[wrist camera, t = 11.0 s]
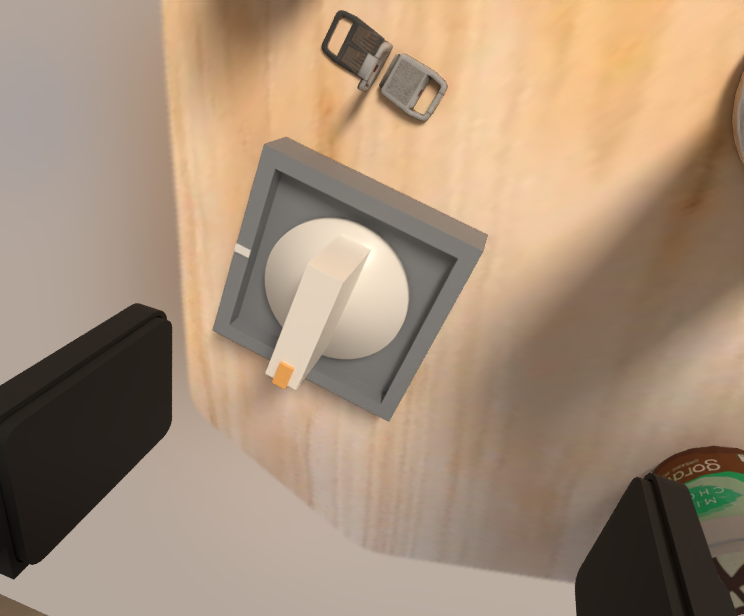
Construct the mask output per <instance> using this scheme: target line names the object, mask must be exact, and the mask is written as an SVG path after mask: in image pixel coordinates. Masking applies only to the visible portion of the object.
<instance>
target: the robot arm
mask: <svg viewBox="0 0 744 616" xmlns="http://www.w3.org/2000/svg"><path fill="white" fill-rule="evenodd" d="M732 123H733V136H734V141H735V144H736V148H737V151H738V154H739V157H740V159H741V161H742V162H743V164H744V71H743V73H742V76H741V79H740V82H739V85H738V88H737V91H736V94H735V100H734V108H733V115H732ZM171 422H172V324H171V322H170V321H168V320H167V317H166V314H165V313H164V312H163V311H160V310H157V309H154V308H151V307H148V306H145V305H142V304H138V303H135V304H133V305H131V306H129V307H128V308H126V309H124V310H123V311H121V312H119V313H118V314H117V315H115V316H113V317H111V318H110V319H108V320H107V321H105V322H103V323H102V324H100V325H98V326H97V327H95V328H93V329H92V330H90V331H88V332H87V333H85V334H84V335H82V336H80V337H79V338H77V339H75V340H74V341H72V342H70V343H69V344H67V345H66V346H64V347H62V348H61V349H59V350H58V351H56V352H54V353H53V354H51V355H49V356H48V357H46V358H44V359H43V360H41V361H40V362H38V363H37V364H35V365H33V366H31V367H30V368H28V369H26V370H25V371H23V372H22V373H20V374H18V375H17V376H15V377H13V378H12V379H10V380H9V381H7V382H5V383H4V384H2V385H0V574H3V575H5V576H7V577H9V578H11V579H15V578H16V577H17V576H18V575H19V574H20V573H21V572H22V571H23V570H24V569H25V568H26V567H27V566H28V565H29V564H31V565H34V564H37V563H38V562H40V561H42V559H44V558H45V557H46V556H47V555H48V554H49V553H50V552H51V551H52V550H53V549H54V548H55V547H56V546H57V545H58V544H59V543H60V542H61V541H62V540H63V539H64V538H65V537H66V536H67V534H68V533H70V532H71V531H72V530H73V529H74V527H75V526H76V525H77V524H78V523H79V522H80V521H81V520H82V519H83V518H84V517H85V516H86V515H87V514H88V513H89V512H90V511H91V510H92V509H93V508H94V507H95V506H96V505H97V504H98V503H99V502H100V501H101V500H102V499H103V498H104V497H105V496H106V495H107V494H108V493H109V492H110V491H111V490H112V489H113V488H114V487H115V486H116V485H117V484H118V483H119V482H120V481H121V480H122V479H123V478H124V477H125V476H126V475H127V474H128V473H129V472H130V471H131V470H132V468H134V466H135V465H137V464H138V462H139V461H140V460H141V459H142V458H143V457H144V456H145V455H146V454H147V453H148V452H149V451H150V450H151V449H152V448H153V447H154V446H155V445H156V444H157V443H158V442H159V441H160V440H161V439H162V438H163V437H164V436H165V435H166V433H167V431H168V430H169V427H170V425H171ZM575 599H576V613H577V616H738V615H737V613H736V610H735V607H734V604H733V601H732V598H731V596H730V593H729V591H728V589H727V587H726V585H725V583H724V582H723V581H722V580H721V579H720V578H719V576H718V573H717V570H716V567H715V564H714V562H713V559H712V556H711V553H710V550H709V547H708V544H707V541H706V538H705V535H704V532H703V529H702V527H701V524H700V521H699V518H698V515H697V512H696V509H695V506H694V503H693V500H692V497H691V494H690V492H689V489H688V487H687V486H686V485H685V484H683V483H680V482H677V481H674V480H671V479H668V478H665V477H662V476H659V475H656V474H653V473H649V474H648V475H646V476H645V477H644V479H642V478H639V477H636V478H634V479H633V480H632V482H631V483H630V485H629V486H628V488H627V490H626V491H625V493H624V495H623V496H622V498H621V500H620V502H619V503H618V505H617V507H616V508H615V510H614V512H613V513H612V515H611V517H610V518H609V520H608V522H607V523H606V525H605V527H604V528H603V530H602V532H601V534H600V535H599V537H598V539H597V540H596V542H595V544H594V545H593V547H592V549H591V550H590V552H589V554H588V555H587V557H586V559H585V561H584V562H583V564H582V566H581V567H580V569H579V571H578V574H577V577H576V583H575ZM0 616H47V615H46V614H43V613H41V612H39V611H37V610H34V609H32V608H30V607H28V606H25V605H23V604H21V603H19V602H16V601H14V600H12V599H10V598H8V597H6V596H3V595H1V594H0Z"/></svg>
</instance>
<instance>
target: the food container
mask: <svg viewBox="0 0 744 616" xmlns="http://www.w3.org/2000/svg"><path fill="white" fill-rule="evenodd" d="M653 474H656V475H659V476H662V477H665V478H668V479H671V480H674V481H677V482H680V483H683V484H685V485H686V486H687V487H688V489H689V492H690V494H691V497H692V500H693V503H694V506H695V509H696V512H697V515H698V518H699V521H700V524H701V527H702V529H703V532H704V535H705V538H706V541H707V544H708V547H709V550H710V553H711V556H712V559H713V562H714V564H715V567H716V570H717V573H718V576H719V578H720V579H721V580H722V581H723V582H724V583H725V585H726V587H727V589H728V591H729V593H730V596H731V598H732V601H733V604H734V607H735V610H736V613H737V615H741V614H744V450H741V449H738V448H729V447H720V446H709V447H700V448H691V449H689V450H686V451H683V452H680V453H677V454H675V455H673V456H671V457H669V458H667V459H666V460H665V461H664V462H662V463H661V464H660V465H659V466H658V467H657V468H656V469H655V470H654V472H653Z"/></svg>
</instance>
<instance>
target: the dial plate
mask: <svg viewBox="0 0 744 616" xmlns="http://www.w3.org/2000/svg"><path fill="white" fill-rule="evenodd" d="M318 217H341V218H347V219H350V220H354V221H357V222H359V223H361V224H364V225H366V226H368V227H369V228H371V229H373V230H374V231H376V232H377V233H378V234H379V235H381V236H382V237H383V238H384V239H385V240H386V241H387V242H388V243H389V244H390V245H391V246H392V247H393V249H394V250H395V251H396V253H397V254H398V256H399V257H400V259H401V261H402V263H403V265H404V267H405V270H406V273H407V276H408V280H409V286H410V303H409V309H408V312H407V316H406V318H405V320H404V323H403V325H402V327H401V329H400V330H399V332H398V333H397V335H396V336H395V338H394V339H393V340H392V341H391V342H390V343H389V344H388V345H387V346H385V347H384V348H383V349H381V350H380V351H378V352H376V353H374V354H372V355H369V356H366V357H362V358H357V359H336V358H331V357H326V356H323V355H321V357H320V358H319V360H318V361H317V362H316V364H315V365H314V367H313V368H312V369H311V371H310V372H309V374H308V375H307V376H306V378H305V379H307V380H309V381H311V382H313V383H315V384H317V385H319V386H321V387H323V388H325V389H327V390H329V391H330V392H332V393H334V394H336V395H338V396H340V397H342V398H344V399H346V400H348V401H350V402H352V403H354V404H356V405H357V406H359V407H361V408H363V409H365V410H367V411H369V412H371V413H373V414H375V415H377V416H379V417H381V418H383V419H385V420H386V421H388V422H389V421H390V419H391V417H392V415H393V413H394V412H395V410H396V408H397V406H398V404H399V403H400V401H401V399H402V397H403V395H404V394H405V392H406V390H407V388H408V386H409V385H410V383H411V381H412V379H413V377H414V376H415V374H416V372H417V370H418V368H419V367H420V365H421V363H422V361H423V359H424V358H425V356H426V354H427V352H428V350H429V348H430V347H431V345H432V343H433V341H434V339H435V338H436V336H437V334H438V332H439V330H440V329H441V327H442V325H443V323H444V321H445V320H446V318H447V316H448V314H449V312H450V311H451V309H452V307H453V305H454V303H455V302H456V300H457V298H458V296H459V294H460V293H461V291H462V289H463V287H464V285H465V284H466V282H467V280H468V278H469V276H470V274H471V273H472V271H473V269H474V267H475V265H476V264H477V262H478V260H479V258H480V256H481V255H482V253H483V251H484V247H485V244H486V240H487V236H488V235H487V234H485V233H483V232H481V231H479V230H477V229H475V228H472V227H470V226H468V225H466V224H464V223H462V222H460V221H458V220H456V219H454V218H452V217H450V216H448V215H446V214H444V213H442V212H440V211H438V210H435V209H433V208H431V207H429V206H427V205H425V204H423V203H421V202H419V201H417V200H415V199H413V198H411V197H409V196H407V195H405V194H403V193H400V192H398V191H396V190H394V189H392V188H390V187H388V186H386V185H384V184H382V183H380V182H378V181H376V180H374V179H372V178H370V177H368V176H365V175H363V174H361V173H359V172H357V171H355V170H353V169H351V168H349V167H347V166H345V165H343V164H341V163H339V162H337V161H335V160H333V159H331V158H328V157H326V156H324V155H322V154H320V153H318V152H316V151H314V150H312V149H310V148H308V147H306V146H304V145H302V144H300V143H298V142H296V141H293V140H291V139H289V138H287V137H284V138H281V139H278V140H275V141H272V142H269V143H266V144H264V146H263V150H262V153H261V157H260V161H259V164H258V168H257V172H256V175H255V179H254V182H253V186H252V190H251V193H250V197H249V201H248V204H247V208H246V211H245V215H244V219H243V222H242V226H241V230H240V233H239V237H238V240H237V243H236V245H235V249H234V255H233V259H232V262H231V266H230V269H229V273H228V277H227V280H226V284H225V288H224V291H223V295H222V298H221V302H220V306H219V309H218V313H217V317H216V320H215V324H214V327H213V331H215V332H217V333H219V334H221V335H222V336H224V337H226V338H228V339H230V340H232V341H234V342H236V343H238V344H240V345H242V346H244V347H246V348H248V349H249V350H251V351H253V352H255V353H257V354H259V355H261V356H263V357H265V358H267V359H269V360H271V357H272V355H273V352H274V350H275V347H276V344H277V342H278V339H279V337H280V334H281V331H282V329H283V327H282V326H281V325H280V323H279V322H278V320H277V319H276V317H275V315H274V314H273V312H272V310H271V307H270V305H269V302H268V299H267V295H266V290H265V269H266V264H267V260H268V258H269V255H270V253H271V251H272V249H273V248H274V246H275V244H276V243H277V242H278V241H279V240H280V238H281V237H282V236H284V235H285V234H286V233H287V232H288V231H290V230H291V229H293V228H294V227H296V226H297V225H299V224H301V223H303V222H305V221H308V220H310V219H314V218H318Z"/></svg>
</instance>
